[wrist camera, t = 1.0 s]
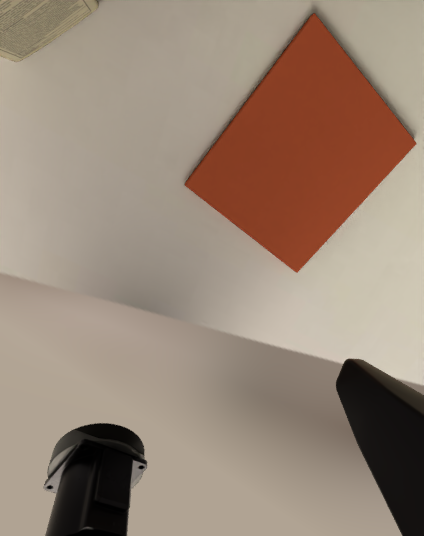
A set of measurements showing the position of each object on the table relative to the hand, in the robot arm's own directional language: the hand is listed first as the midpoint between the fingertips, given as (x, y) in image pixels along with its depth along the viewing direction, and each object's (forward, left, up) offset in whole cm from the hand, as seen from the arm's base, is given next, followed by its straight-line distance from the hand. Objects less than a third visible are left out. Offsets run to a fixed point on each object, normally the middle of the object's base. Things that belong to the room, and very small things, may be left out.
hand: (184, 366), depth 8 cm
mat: (+8, -4, -13) cm, 16 cm away
